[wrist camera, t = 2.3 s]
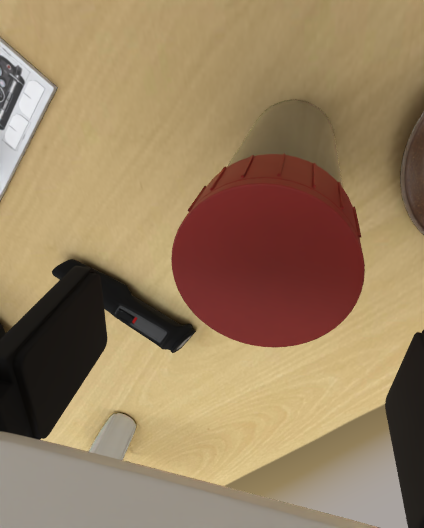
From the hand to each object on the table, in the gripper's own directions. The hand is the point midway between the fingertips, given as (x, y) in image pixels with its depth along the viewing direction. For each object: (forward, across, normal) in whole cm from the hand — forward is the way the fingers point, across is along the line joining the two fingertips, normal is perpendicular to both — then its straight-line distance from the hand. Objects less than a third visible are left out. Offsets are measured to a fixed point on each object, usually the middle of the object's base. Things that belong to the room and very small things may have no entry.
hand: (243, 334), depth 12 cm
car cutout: (+22, +26, +2) cm, 34 cm away
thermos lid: (+7, 0, 0) cm, 7 cm away
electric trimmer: (+22, +14, +18) cm, 32 cm away
